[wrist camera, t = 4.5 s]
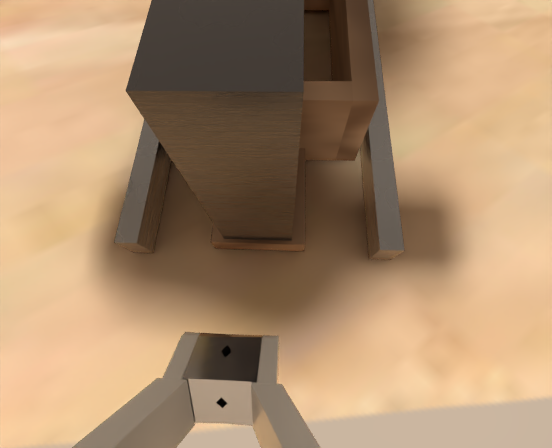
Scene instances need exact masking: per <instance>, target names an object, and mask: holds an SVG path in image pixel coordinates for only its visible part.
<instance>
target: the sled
mask: <svg viewBox="0 0 552 448" xmlns="http://www.w3.org/2000/svg"><path fill="white" fill-rule="evenodd" d="M304 10H329V19H330V43H331V67H332V81H304ZM126 92H127V93H128V95H129V96H130V98H131V99H132V101H133V102H134V104H135V105H136V107H137V108H138V110H139V111H140V113H141V114H142V116H143V117H144V119H145V120H146V122H147V123H148V125H149V126H150V128H151V129H152V131H153V132H154V134H155V136H156V137H157V139H158V140H159V142H160V143H161V145H162V146H163V148H164V149H165V151H166V152H167V154H168V155H169V157H170V158H171V160H172V161H173V163H174V164H175V166H176V167H177V169H178V170H179V172H180V173H181V175H182V176H183V178H184V179H185V181H186V182H187V184H188V185H189V187H190V188H191V190H192V191H193V193H194V194H195V196H196V197H197V199H198V200H199V202H200V203H201V205H202V206H203V208H204V209H205V211H206V212H207V214H208V215H209V217H210V218H211V220H212V221H213V227H212V235H211V243H212V244H213V246H214V247H215V248H221V249H256V250H291V251H304V247H305V160H352V161H355V158H356V156H357V153H358V151H359V148H360V146H361V144H362V141H363V139H364V136H365V134H366V131H367V129H368V127H369V124H370V122H371V119H372V117H373V114H374V112H375V110H376V107H377V105H378V102H379V95H378V87H377V78H376V69H375V60H374V52H373V43H372V34H371V26H370V17H369V8H368V0H152V1H151V5H150V8H149V12H148V15H147V19H146V22H145V26H144V29H143V33H142V36H141V40H140V43H139V47H138V50H137V54H136V57H135V60H134V64H133V67H132V71H131V74H130V78H129V81H128V85H127V88H126Z"/></svg>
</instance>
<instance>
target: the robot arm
mask: <svg viewBox="0 0 552 448" xmlns="http://www.w3.org/2000/svg"><path fill="white" fill-rule="evenodd" d="M278 367H279V336H266V335H235V334H232V335H228V334H213V333H194V332H185V333H184V334H183V335H182V336H181V338H180V340H179V343H178V345H177V347H176V349H175V351H174V354H173V356H172V358H171V360H170V362H169V365H168V367H167V369H166V371H165V373H164V376H163V378H157V379H156V380H154V381H153V382H152V383H151V384H149V385H148V386H147V387H146V388H145V389H143V390H142V391H141V392H140V393H138V394H137V395H136V396H135V397H134V398H132V399H131V400H130V401H129V402H127V403H126V404H125V405H124V406H122V407H121V408H120V409H119V410H118V411H116V412H115V413H114V414H113V415H111V416H110V417H109V418H108V419H106V420H105V421H104V422H103V423H102V424H100V425H99V426H98V427H97V428H95V429H94V430H93V431H92V432H90V433H89V434H88V435H87V436H86V437H84V438H83V439H82V440H81V441H79V442H78V443H77V444H76V445H74V446H73V447H72V448H176V447H177V446H178V445H179V444H180V443H181V441H182V440H183V439H184V438H185V436H186V435H187V434H188V433H189V431H190V430H191V429H192V428H193V426H194V425H195V423H226V424H237V425H249V426H253V429H254V431H255V434H256V436H257V439H258V442H259V444H260V447H261V448H320V446H319V444H318V443H317V441H316V439H315V438H314V436H313V434H312V433H311V431H310V430H309V428H308V426H307V425H306V423H305V421H304V420H303V418H302V416H301V415H300V413H299V411H298V410H297V408H296V407H295V405H294V403H293V402H292V400H291V398H290V397H289V395H288V393H287V392H286V390H285V388H284V387H283V385H282V384H278Z"/></svg>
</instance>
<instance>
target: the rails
mask: <svg viewBox="0 0 552 448" xmlns="http://www.w3.org/2000/svg"><path fill="white" fill-rule="evenodd" d="M368 8H369V17H370V26H371V34H372V43H373V52H374V60H375V69H376V78H377V87H378V95H379V102H378V105H377V107H376V110H375V112H374V114H373V117H372V119H371V122H370V124H369V127H368V129H367V131H366V134H365V136H364V139H363V141H362V144H361V146H360V153H361V166H362V179H363V191H364V204H365V217H366V229H367V242H368V255H369V259H377V260H391V259H393V258H394V257H396V256H397V255H399V254H400V253H402V252H403V251H404V243H403V235H402V227H401V219H400V211H399V203H398V195H397V187H396V179H395V171H394V163H393V155H392V147H391V139H390V131H389V123H388V115H387V107H386V99H385V91H384V83H383V75H382V67H381V59H380V51H379V43H378V35H377V27H376V19H375V11H374V3H373V0H368ZM170 165H171V158H170V157H169V155H168V154H167V152H166V151H165V149H164V148H163V146H162V145H161V143H160V142H159V140H158V139H157V137H156V136H155V134H154V132H153V131H152V129H151V128H150V126H149V125H148V123H147V122H146V120H145V119H144V123H143V127H142V131H141V135H140V139H139V143H138V147H137V152H136V156H135V160H134V164H133V168H132V172H131V176H130V180H129V184H128V188H127V192H126V196H125V200H124V204H123V208H122V212H121V216H120V220H119V224H118V228H117V232H116V237H115V241H114V243H116V244H118V245H120V246H122V247H124V248H126V249H128V250H130V251H132V252H139V253H154V248H155V243H156V237H157V232H158V227H159V222H160V217H161V212H162V206H163V201H164V196H165V191H166V186H167V181H168V175H169V170H170Z"/></svg>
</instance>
